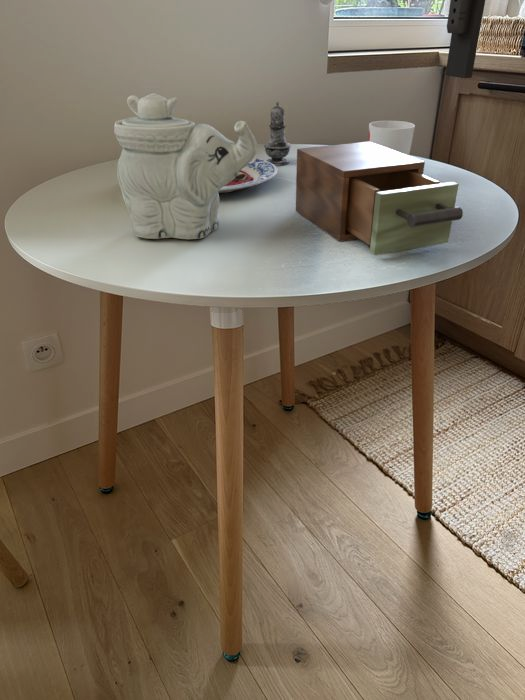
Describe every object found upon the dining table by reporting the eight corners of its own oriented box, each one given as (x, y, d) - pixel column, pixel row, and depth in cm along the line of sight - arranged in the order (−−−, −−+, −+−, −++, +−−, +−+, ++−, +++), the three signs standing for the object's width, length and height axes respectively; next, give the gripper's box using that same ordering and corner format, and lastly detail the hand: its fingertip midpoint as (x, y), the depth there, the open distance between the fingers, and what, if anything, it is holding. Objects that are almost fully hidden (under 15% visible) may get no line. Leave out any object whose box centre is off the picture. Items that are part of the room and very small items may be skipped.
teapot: (262, 232, 80) (260, 93, 70) (179, 261, 71) (164, 106, 61) (193, 208, 90) (183, 83, 80) (114, 230, 81) (91, 93, 71)
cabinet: (415, 229, 81) (425, 161, 75) (339, 241, 77) (344, 171, 71) (363, 201, 92) (369, 141, 87) (295, 211, 88) (296, 148, 83)
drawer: (469, 253, 70) (482, 192, 66) (392, 268, 67) (401, 204, 62) (392, 213, 84) (398, 160, 80) (325, 223, 81) (328, 168, 76)
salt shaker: (273, 157, 119) (273, 98, 113) (296, 161, 117) (297, 100, 110) (258, 163, 115) (257, 102, 109) (281, 167, 113) (281, 104, 106)
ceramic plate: (274, 164, 115) (274, 149, 113) (281, 200, 93) (281, 183, 92) (152, 166, 114) (150, 151, 113) (130, 203, 93) (128, 186, 91)
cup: (380, 172, 108) (386, 119, 103) (415, 180, 103) (423, 124, 98) (355, 180, 103) (360, 124, 98) (391, 189, 98) (398, 130, 93)
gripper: (662, -218, 46) (584, 63, 57) (413, -258, 38) (381, 75, 50) (758, -252, 40) (650, 70, 51) (485, -307, 33) (430, 84, 44)
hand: (517, 73), depth 51 cm, fingers open, 13 cm apart
